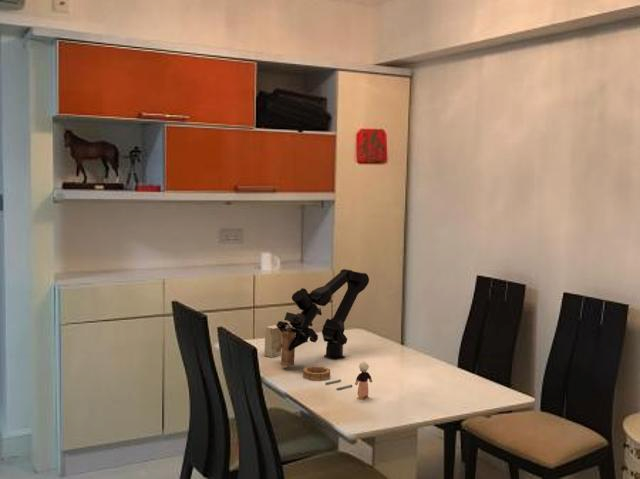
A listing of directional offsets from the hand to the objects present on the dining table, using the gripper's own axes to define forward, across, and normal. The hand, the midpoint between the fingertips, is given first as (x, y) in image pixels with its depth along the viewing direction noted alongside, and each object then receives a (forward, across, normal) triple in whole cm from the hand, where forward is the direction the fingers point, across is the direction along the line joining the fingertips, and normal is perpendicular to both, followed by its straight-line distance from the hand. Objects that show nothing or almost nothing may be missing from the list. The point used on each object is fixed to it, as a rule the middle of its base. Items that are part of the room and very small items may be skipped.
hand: (285, 348), depth 269 cm
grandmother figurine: (+8, +42, +4) cm, 43 cm away
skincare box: (-1, -18, +13) cm, 23 cm away
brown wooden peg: (+4, 0, +6) cm, 7 cm away
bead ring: (+4, +14, +8) cm, 17 cm away
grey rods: (+5, +27, +7) cm, 28 cm away
